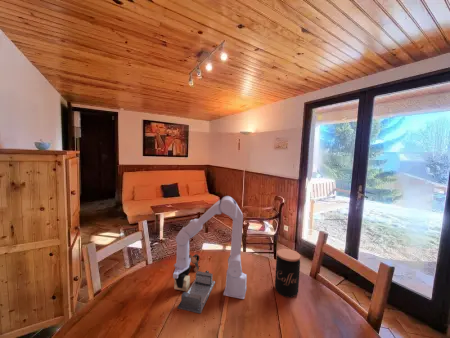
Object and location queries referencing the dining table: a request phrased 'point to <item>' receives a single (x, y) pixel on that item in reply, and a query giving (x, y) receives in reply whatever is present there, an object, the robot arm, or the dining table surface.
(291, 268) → the coffee jar
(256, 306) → the dining table surface
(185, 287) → the block
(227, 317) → the dining table surface
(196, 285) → the vise
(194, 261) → the pottery mug
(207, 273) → the jaw
